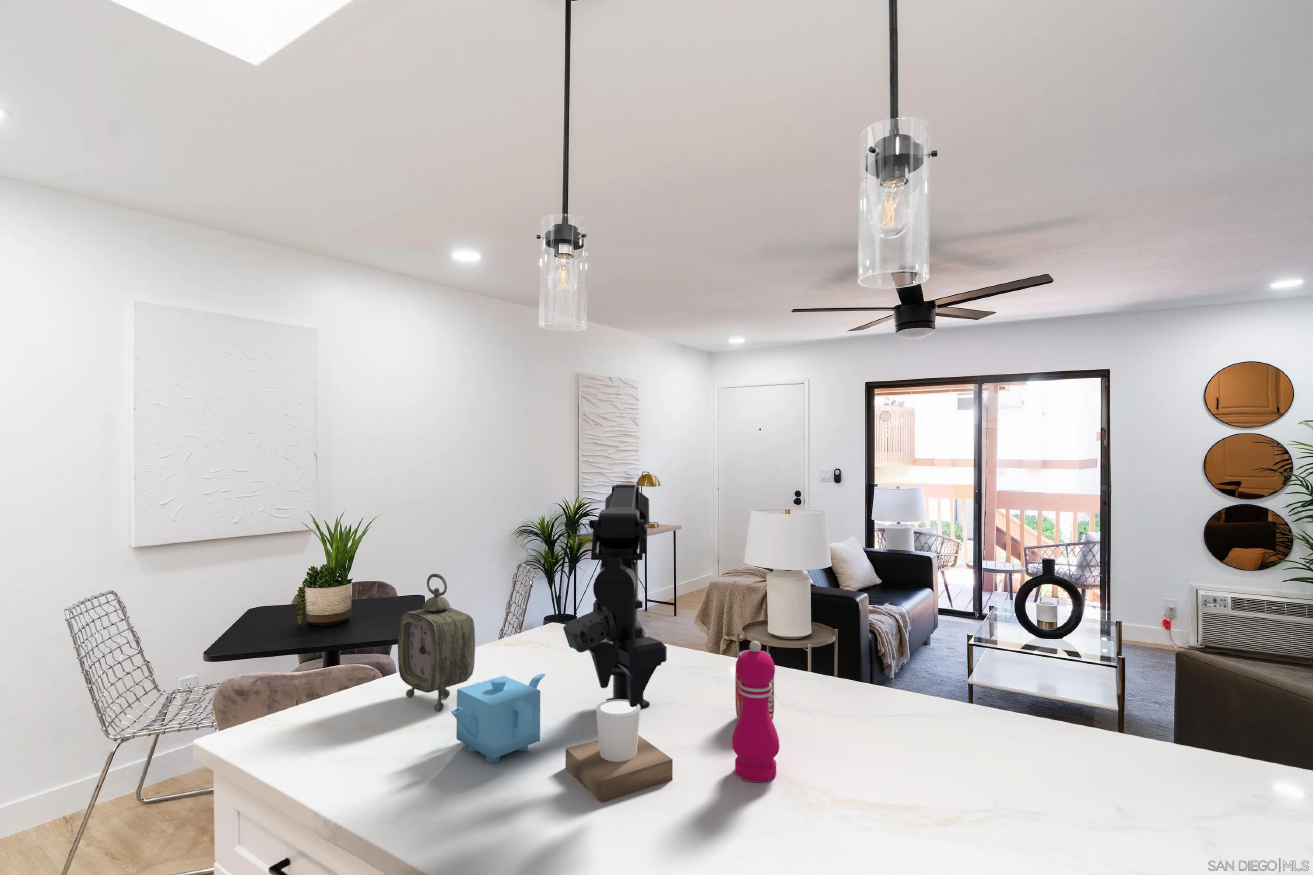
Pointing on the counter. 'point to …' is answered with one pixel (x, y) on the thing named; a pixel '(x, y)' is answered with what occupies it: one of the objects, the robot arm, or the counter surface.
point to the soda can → (739, 695)
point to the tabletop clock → (435, 646)
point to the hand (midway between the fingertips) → (618, 696)
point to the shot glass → (617, 729)
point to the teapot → (498, 716)
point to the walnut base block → (618, 769)
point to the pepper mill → (755, 718)
